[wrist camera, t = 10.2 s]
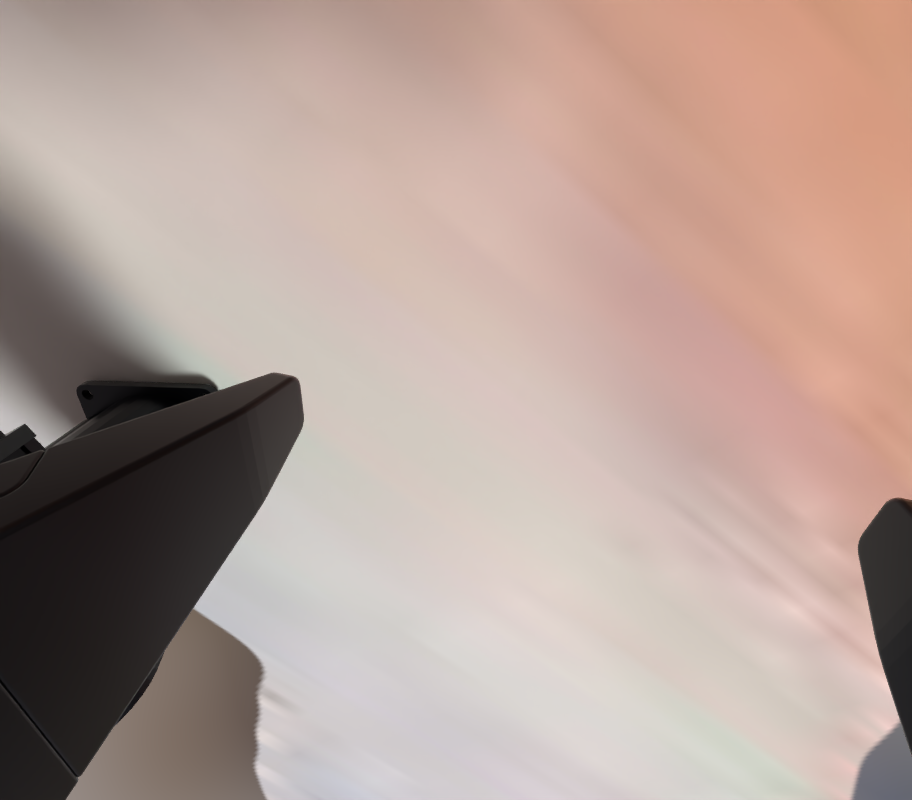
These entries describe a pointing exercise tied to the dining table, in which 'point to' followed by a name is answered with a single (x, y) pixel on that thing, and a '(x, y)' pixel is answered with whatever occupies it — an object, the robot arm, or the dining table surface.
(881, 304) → the dining table surface
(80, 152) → the dining table surface
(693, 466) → the dining table surface
